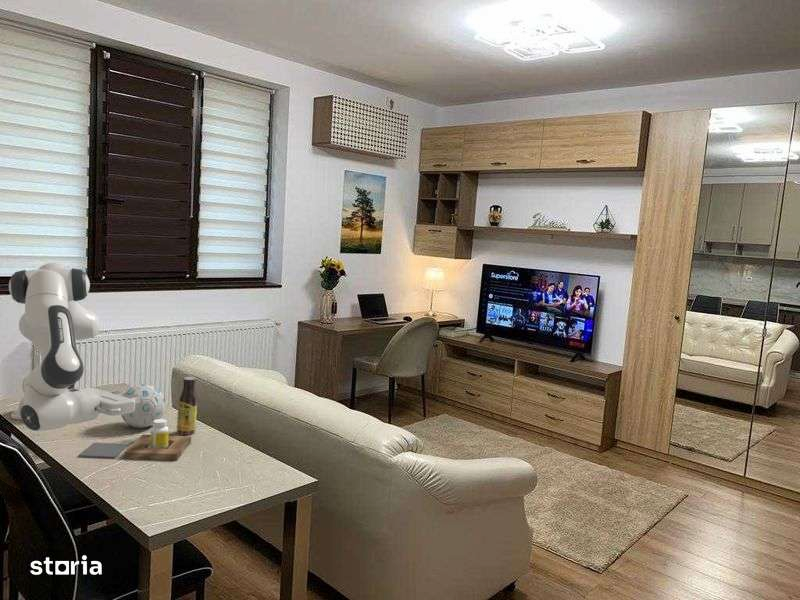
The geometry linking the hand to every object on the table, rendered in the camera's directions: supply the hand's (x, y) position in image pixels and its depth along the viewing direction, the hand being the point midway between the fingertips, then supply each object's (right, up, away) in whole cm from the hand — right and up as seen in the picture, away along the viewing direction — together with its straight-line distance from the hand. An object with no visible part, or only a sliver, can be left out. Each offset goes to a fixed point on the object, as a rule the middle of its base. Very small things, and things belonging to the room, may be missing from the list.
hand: (128, 396), depth 184 cm
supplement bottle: (+4, -20, +13) cm, 24 cm away
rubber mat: (-11, -19, +8) cm, 23 cm away
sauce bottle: (+7, -18, +30) cm, 35 cm away
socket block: (+4, -19, +13) cm, 24 cm away
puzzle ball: (-10, -16, +34) cm, 38 cm away
